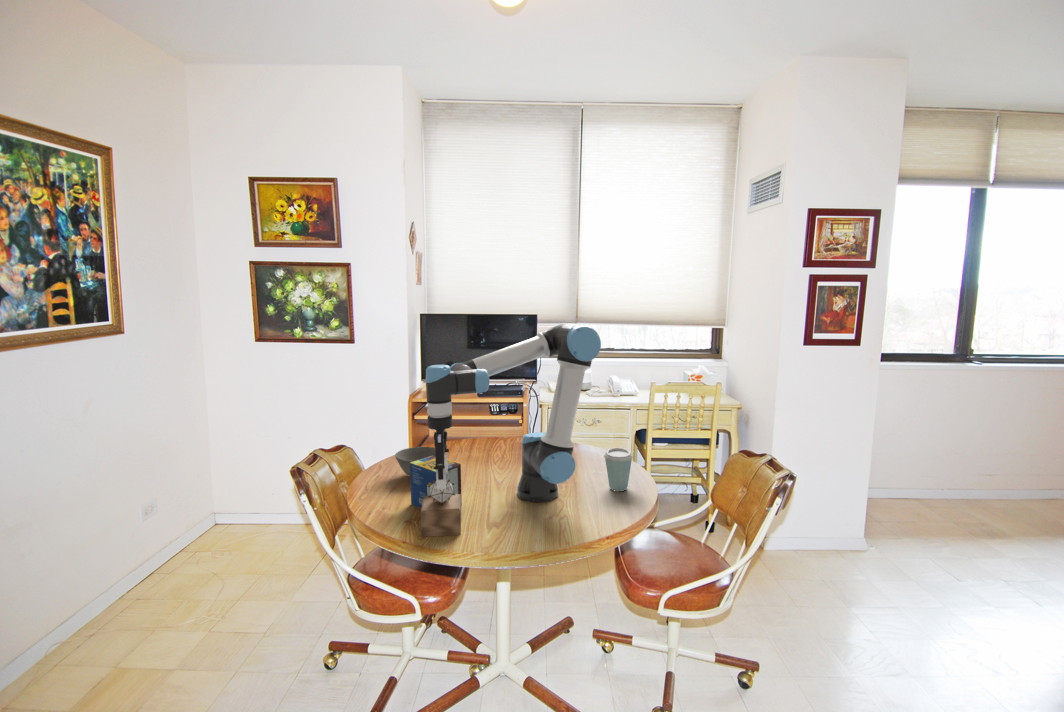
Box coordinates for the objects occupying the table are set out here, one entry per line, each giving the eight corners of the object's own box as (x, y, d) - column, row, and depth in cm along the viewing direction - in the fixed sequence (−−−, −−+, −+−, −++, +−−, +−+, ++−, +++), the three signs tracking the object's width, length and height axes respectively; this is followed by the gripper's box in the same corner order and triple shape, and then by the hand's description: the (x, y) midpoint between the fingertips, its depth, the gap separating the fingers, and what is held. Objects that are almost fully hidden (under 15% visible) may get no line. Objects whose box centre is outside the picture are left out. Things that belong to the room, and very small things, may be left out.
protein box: (433, 495, 183) (432, 454, 181) (462, 506, 174) (461, 463, 172) (410, 504, 175) (408, 462, 173) (439, 516, 165) (438, 472, 164)
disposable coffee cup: (633, 495, 184) (635, 455, 182) (604, 494, 184) (605, 455, 183) (629, 484, 194) (630, 447, 193) (602, 483, 195) (602, 446, 193)
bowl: (417, 489, 188) (416, 464, 187) (386, 478, 200) (385, 454, 198) (453, 475, 203) (452, 451, 202) (422, 465, 214) (422, 443, 213)
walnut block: (461, 517, 165) (460, 493, 164) (460, 534, 153) (460, 509, 152) (424, 519, 164) (423, 495, 163) (421, 536, 152) (420, 511, 151)
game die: (439, 511, 159) (437, 480, 164) (461, 505, 157) (459, 474, 161) (422, 507, 152) (421, 475, 157) (445, 500, 149) (444, 468, 154)
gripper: (430, 406, 166) (433, 467, 168) (424, 426, 141) (427, 497, 144) (453, 405, 167) (455, 465, 169) (450, 424, 142) (453, 495, 145)
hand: (442, 480), depth 157 cm, fingers open, 13 cm apart
